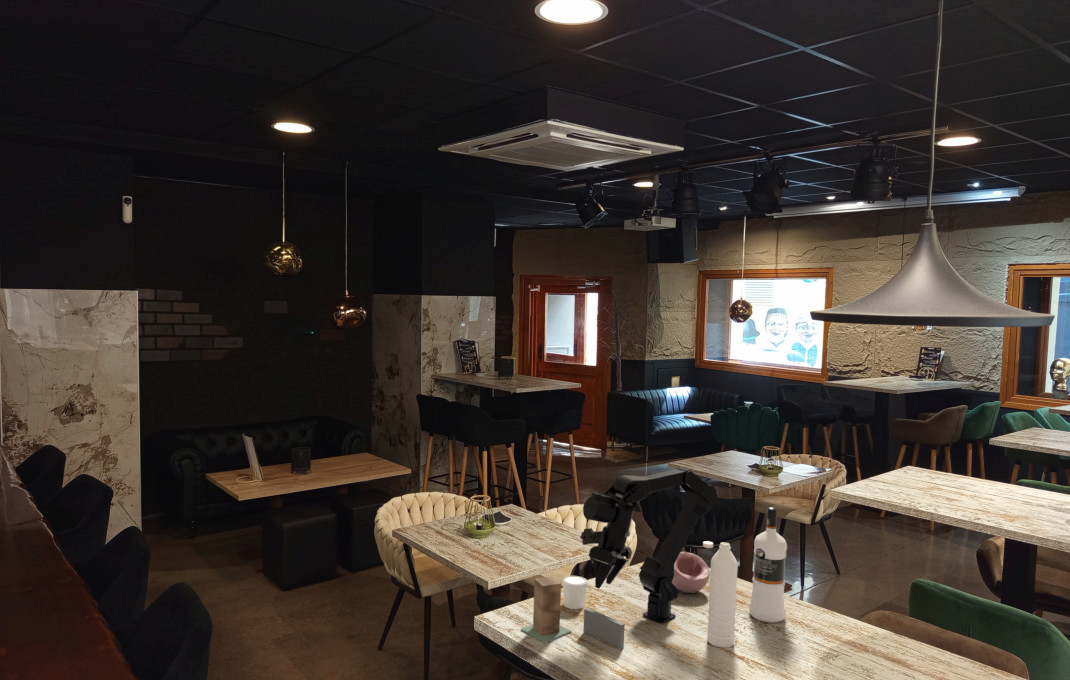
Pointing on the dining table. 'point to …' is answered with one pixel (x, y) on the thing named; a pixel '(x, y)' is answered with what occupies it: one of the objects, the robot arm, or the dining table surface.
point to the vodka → (769, 573)
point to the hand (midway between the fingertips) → (602, 585)
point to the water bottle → (722, 596)
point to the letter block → (547, 605)
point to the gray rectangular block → (604, 628)
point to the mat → (545, 638)
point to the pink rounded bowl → (690, 573)
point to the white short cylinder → (574, 591)
